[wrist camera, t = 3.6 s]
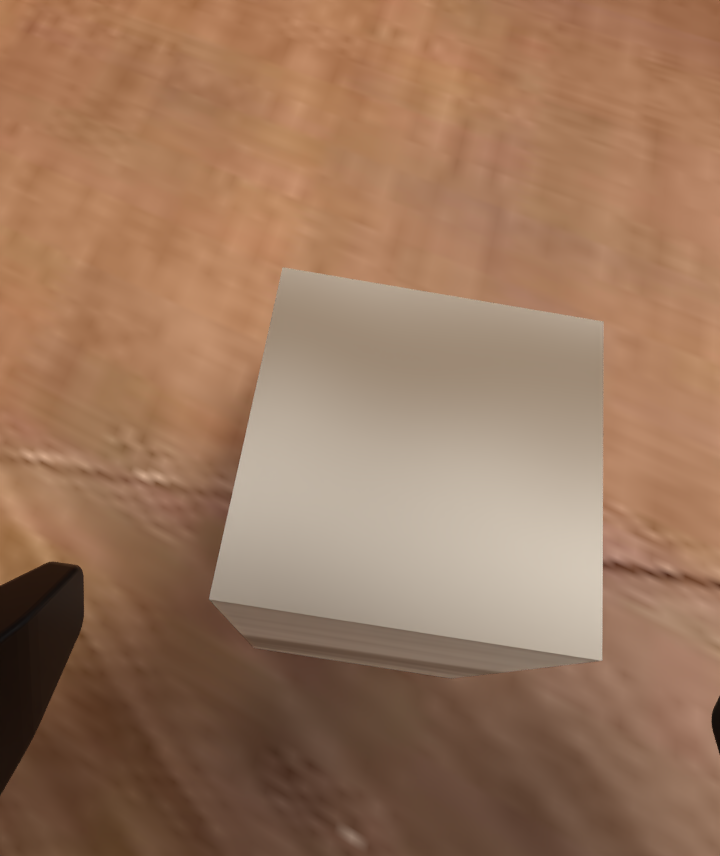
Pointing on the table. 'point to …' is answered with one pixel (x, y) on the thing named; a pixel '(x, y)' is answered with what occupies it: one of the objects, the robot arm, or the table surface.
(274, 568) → the tall block
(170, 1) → the table surface
